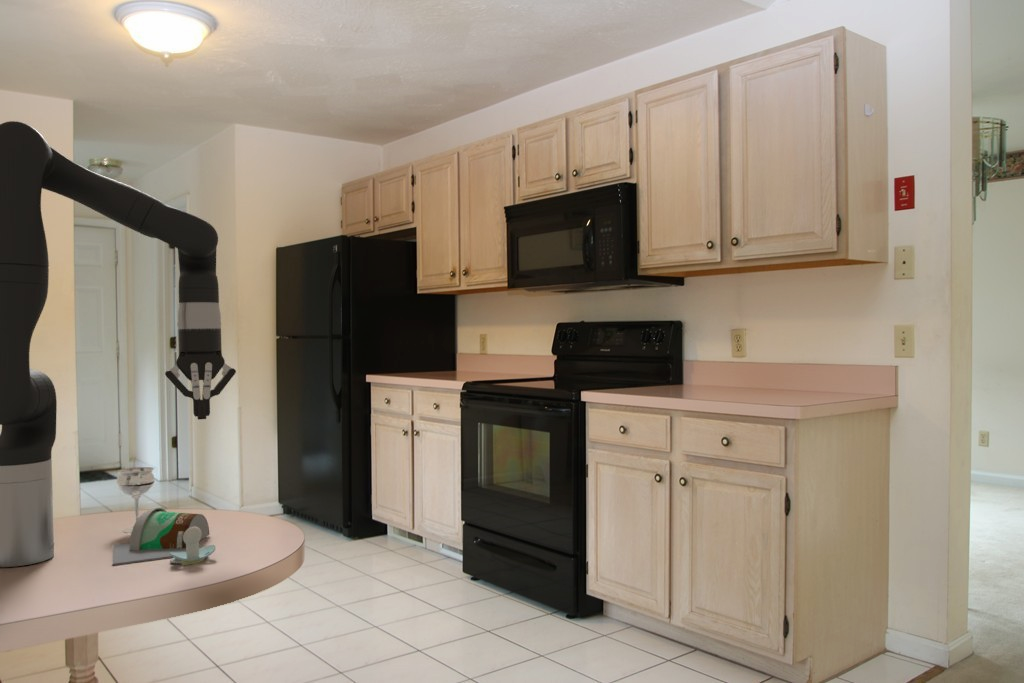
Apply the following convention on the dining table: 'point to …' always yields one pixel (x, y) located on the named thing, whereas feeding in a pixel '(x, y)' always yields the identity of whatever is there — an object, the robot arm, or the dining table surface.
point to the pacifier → (192, 548)
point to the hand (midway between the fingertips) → (202, 418)
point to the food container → (164, 529)
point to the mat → (140, 554)
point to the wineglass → (135, 484)
